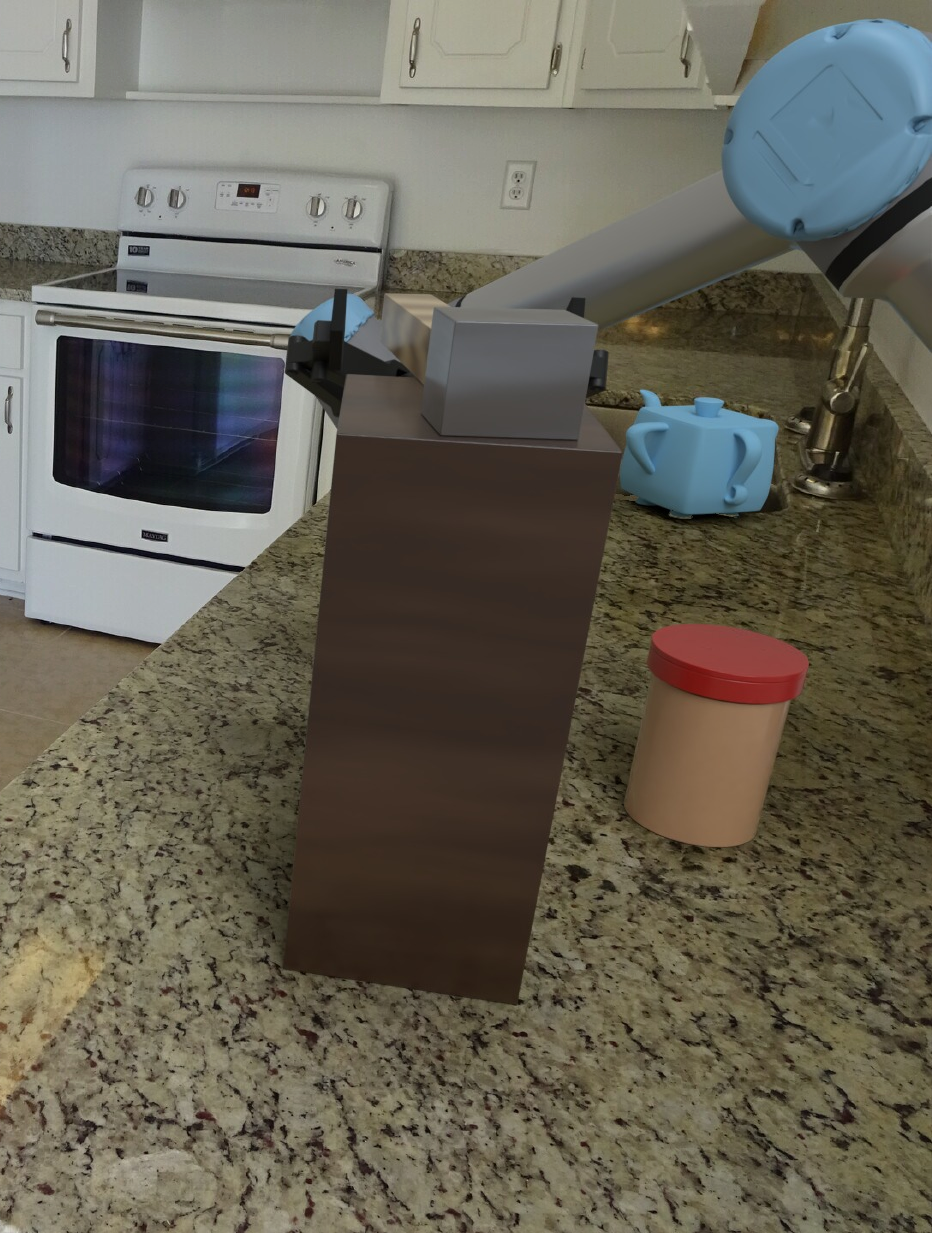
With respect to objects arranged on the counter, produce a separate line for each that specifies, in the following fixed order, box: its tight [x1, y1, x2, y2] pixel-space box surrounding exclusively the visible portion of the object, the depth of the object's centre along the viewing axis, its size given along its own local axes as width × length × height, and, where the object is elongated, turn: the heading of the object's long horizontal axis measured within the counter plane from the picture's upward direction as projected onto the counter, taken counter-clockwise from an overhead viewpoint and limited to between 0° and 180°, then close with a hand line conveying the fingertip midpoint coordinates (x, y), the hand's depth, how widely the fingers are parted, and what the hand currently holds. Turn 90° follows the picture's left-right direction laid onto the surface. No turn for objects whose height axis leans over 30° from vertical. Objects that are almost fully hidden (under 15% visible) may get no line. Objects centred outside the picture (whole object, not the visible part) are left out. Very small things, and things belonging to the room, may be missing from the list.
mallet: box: [379, 292, 599, 440], centre depth 68 cm, size 29×6×5 cm, turn 175°
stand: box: [282, 374, 624, 1005], centre depth 67 cm, size 16×12×29 cm
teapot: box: [619, 389, 780, 517], centre depth 151 cm, size 18×16×14 cm
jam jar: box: [623, 672, 792, 848], centre depth 80 cm, size 8×8×12 cm
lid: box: [646, 623, 810, 704], centre depth 78 cm, size 9×9×2 cm
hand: (455, 314), depth 74 cm, fingers open, 13 cm apart
